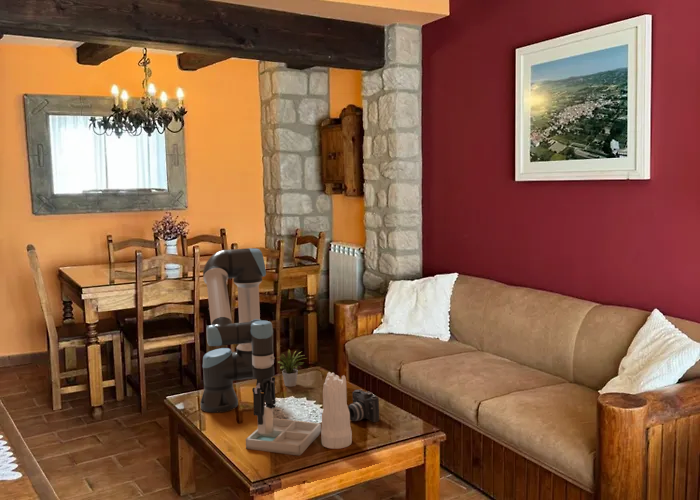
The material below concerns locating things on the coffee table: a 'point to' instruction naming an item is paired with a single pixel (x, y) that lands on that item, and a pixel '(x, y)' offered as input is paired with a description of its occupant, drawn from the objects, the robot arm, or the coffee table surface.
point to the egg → (268, 420)
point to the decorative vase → (335, 413)
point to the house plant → (290, 368)
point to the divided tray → (285, 437)
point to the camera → (364, 406)
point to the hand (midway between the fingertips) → (265, 428)
